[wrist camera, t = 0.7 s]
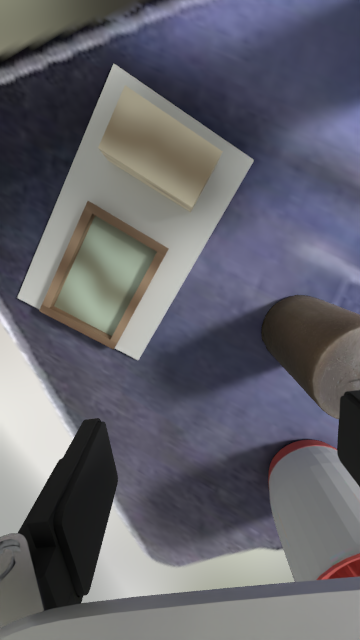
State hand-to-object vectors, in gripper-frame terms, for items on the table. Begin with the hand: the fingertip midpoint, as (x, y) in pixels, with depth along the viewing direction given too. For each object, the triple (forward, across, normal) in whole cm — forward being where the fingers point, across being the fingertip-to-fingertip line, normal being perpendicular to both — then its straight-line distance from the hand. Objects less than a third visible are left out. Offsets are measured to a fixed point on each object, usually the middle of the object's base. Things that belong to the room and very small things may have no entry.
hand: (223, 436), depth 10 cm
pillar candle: (+26, -14, +5) cm, 30 cm away
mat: (+25, +7, -10) cm, 28 cm away
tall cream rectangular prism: (+25, +2, -17) cm, 30 cm away
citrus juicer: (+26, -16, +29) cm, 42 cm away
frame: (+25, +11, -5) cm, 28 cm away
